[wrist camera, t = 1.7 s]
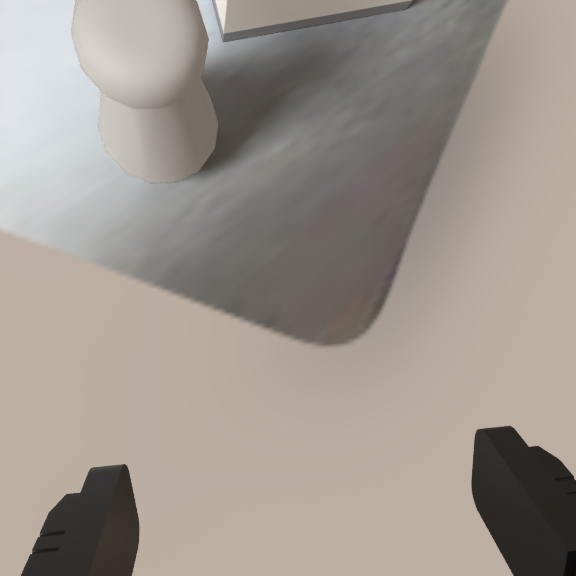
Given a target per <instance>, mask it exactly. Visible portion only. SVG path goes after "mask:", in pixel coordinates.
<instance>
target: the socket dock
mask: <svg viewBox="0 0 576 576" xmlns="http://www.w3.org/2000/svg"><path fill="white" fill-rule="evenodd" d="M412 1H413V0H212V2H213V6H214V10H215V14H216V18H217V22H218V25H219V29H220V33H221V37H222V41H223V42H227V41H233V40H238V39H244V38H249V37H255V36H260V35H266V34H271V33H277V32H283V31H288V30H294V29H299V28H305V27H310V26H316V25H321V24H327V23H333V22H338V21H344V20H349V19H355V18H360V17H366V16H371V15H377V14H383V13H388V12H394V11H399V10H405V9H407V8H408V6H409V5H410V4H411V2H412Z"/></svg>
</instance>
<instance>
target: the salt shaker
mask: <svg viewBox="0 0 576 576" xmlns="http://www.w3.org/2000/svg"><path fill="white" fill-rule="evenodd" d="M71 32H72V40H73V43H74V46H75V50H76V53H77V56H78V60H79V63H80V66H81V69H82V70H83V71H84V73H85V74H86V75H87V77H88V78H89V79H90V80H91V81H92V82H93V83H94V84H95V85H96V86H97V87H98V88H99V89H100V90H101V99H100V111H99V122H98V128H99V131H100V135H101V138H102V142H103V145H104V149H105V152H106V153H107V154H108V155H109V156H110V157H111V158H112V159H113V161H114V162H115V163H116V164H117V165H118V166H119V167H120V168H121V169H122V170H123V171H124V172H125V173H128V174H130V175H132V176H134V177H137V178H139V179H141V180H144V181H146V182H148V183H151V184H156V183H176V182H179V181H181V180H183V179H185V178H187V177H189V176H190V175H192V174H194V173H196V172H198V171H199V170H200V169H201V168H202V166H203V165H204V163H205V162H206V161H207V159H208V158H209V156H210V155H211V154H212V152H213V151H214V149H215V144H216V138H217V131H218V125H219V123H218V120H217V117H216V113H215V110H214V107H213V103H212V100H211V98H210V96H209V94H208V92H207V90H206V88H205V86H204V84H203V82H202V80H201V76H202V75H203V71H204V65H205V59H206V53H207V48H208V41H209V38H208V35H207V32H206V29H205V25H204V22H203V19H202V16H201V13H200V10H199V7H198V4H197V1H196V0H76V1H75V7H74V14H73V20H72V27H71Z"/></svg>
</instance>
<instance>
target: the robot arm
mask: <svg viewBox="0 0 576 576" xmlns="http://www.w3.org/2000/svg"><path fill="white" fill-rule="evenodd" d="M472 493H473V498H474V502H475V505H476V507H477V510H478V512H479V514H480V516H481V518H482V519H483V521H484V523H485V525H486V526H487V528H488V530H489V532H490V534H491V535H492V537H493V539H494V541H495V543H496V544H497V546H498V548H499V550H500V552H501V554H502V555H503V557H504V559H505V561H506V563H507V564H508V566H509V568H510V570H511V572H512V573H513V575H514V576H576V480H574V476H573V475H572V474H571V473H570V471H569V470H568V469H567V468H566V467H565V466H564V464H563V463H562V462H561V461H560V460H559V459H558V458H556V457H555V456H553V455H552V454H550V453H548V452H547V451H545V450H543V449H542V448H541V447H539V446H534V447H528V445H527V444H526V443H525V441H524V440H523V439H522V438H521V436H520V435H519V434H518V433H517V431H516V430H515V429H514V428H513V427H511V426H504V427H495V428H485V429H478V430H477V431H476V434H475V441H474V455H473V469H472ZM138 544H139V518H138V513H137V508H136V503H135V499H134V493H133V489H132V484H131V479H130V474H129V470H128V467H127V465H125V464H123V465H114V466H104V467H93V468H91V469H90V470H89V472H88V475H87V477H86V480H85V482H84V485H83V488H82V491H81V493H73V494H66V495H65V496H64V497H63V498H62V500H60V502H59V503H58V504H57V505H56V506H55V507H54V508H53V509H52V510H51V511H50V512H49V514H48V516H47V518H46V520H45V523H44V525H43V527H42V529H41V532H40V537H38V539H37V541H36V543H35V545H34V547H33V550H32V554H30V556H29V559H28V561H27V563H26V565H25V567H24V570H23V573H22V574H21V576H132V572H133V568H134V563H135V559H136V554H137V550H138Z"/></svg>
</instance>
